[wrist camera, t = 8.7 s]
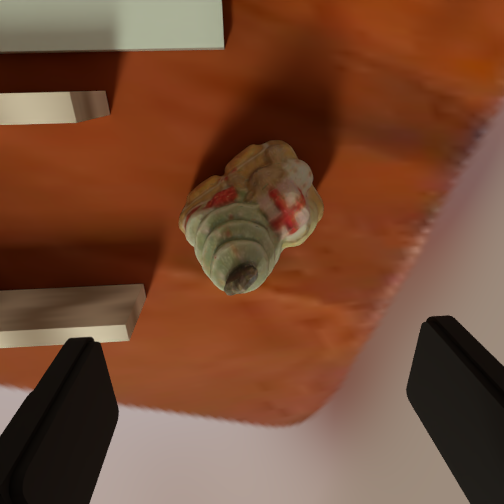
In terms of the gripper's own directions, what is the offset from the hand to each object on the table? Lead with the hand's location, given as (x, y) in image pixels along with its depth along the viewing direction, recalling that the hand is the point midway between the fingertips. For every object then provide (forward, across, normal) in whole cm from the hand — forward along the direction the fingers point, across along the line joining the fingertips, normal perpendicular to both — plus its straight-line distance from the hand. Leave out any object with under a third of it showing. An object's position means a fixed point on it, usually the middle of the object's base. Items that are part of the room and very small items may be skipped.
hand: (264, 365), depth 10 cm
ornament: (+13, 0, -1) cm, 13 cm away
